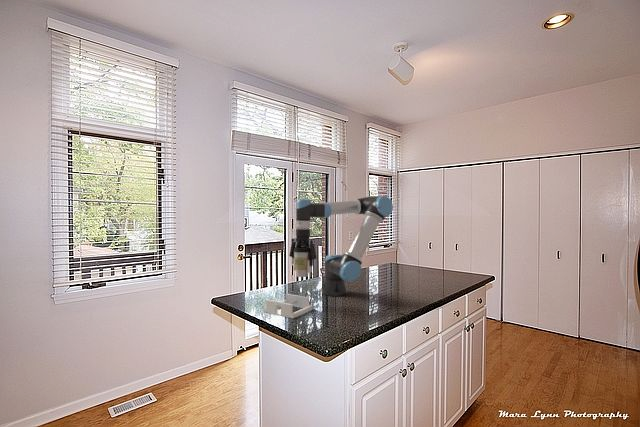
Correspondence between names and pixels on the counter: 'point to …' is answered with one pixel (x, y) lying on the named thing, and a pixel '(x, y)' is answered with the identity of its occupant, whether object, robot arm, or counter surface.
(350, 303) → the counter surface
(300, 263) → the coffee cup
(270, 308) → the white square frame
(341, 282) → the robot arm
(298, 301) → the pusher
